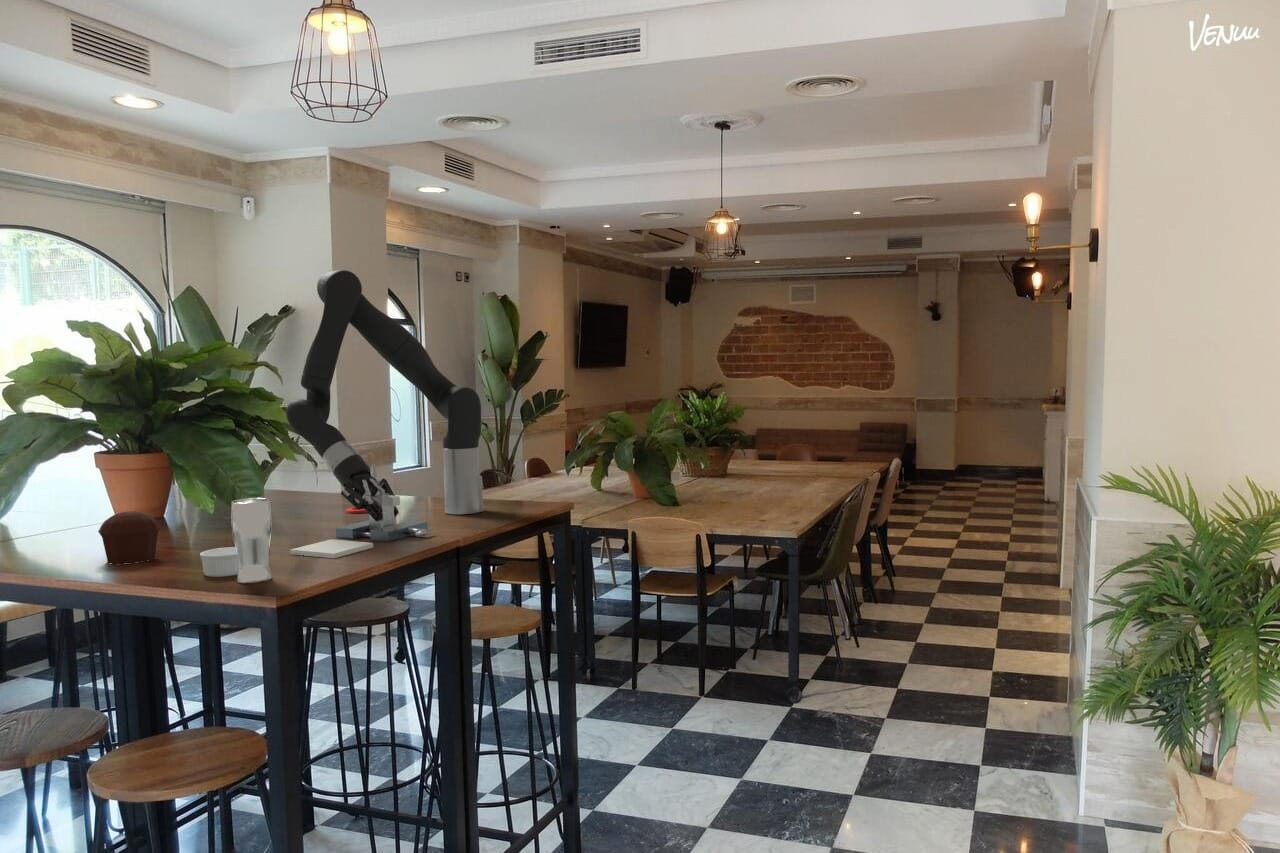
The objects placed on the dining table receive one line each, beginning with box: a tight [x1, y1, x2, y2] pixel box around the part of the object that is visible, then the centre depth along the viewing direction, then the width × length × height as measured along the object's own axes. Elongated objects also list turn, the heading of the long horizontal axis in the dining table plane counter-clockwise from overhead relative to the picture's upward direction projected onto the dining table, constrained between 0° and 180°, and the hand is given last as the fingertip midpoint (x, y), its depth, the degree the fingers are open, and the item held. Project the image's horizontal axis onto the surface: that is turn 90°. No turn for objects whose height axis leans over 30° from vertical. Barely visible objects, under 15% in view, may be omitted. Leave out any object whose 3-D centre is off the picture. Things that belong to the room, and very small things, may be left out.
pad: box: [290, 539, 374, 559], centre depth 207 cm, size 12×12×1 cm
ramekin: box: [199, 546, 238, 578], centre depth 187 cm, size 9×9×4 cm
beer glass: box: [230, 497, 273, 584], centre depth 180 cm, size 7×7×15 cm
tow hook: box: [345, 463, 379, 514], centre depth 260 cm, size 8×13×9 cm
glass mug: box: [368, 494, 401, 531], centre depth 225 cm, size 6×4×9 cm, turn 64°
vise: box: [335, 519, 435, 543], centre depth 224 cm, size 20×14×2 cm
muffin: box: [97, 510, 162, 565], centre depth 201 cm, size 12×11×10 cm
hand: (388, 516), depth 224 cm, fingers open, 5 cm apart
